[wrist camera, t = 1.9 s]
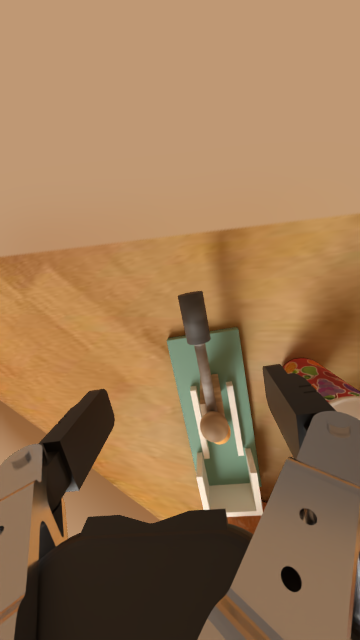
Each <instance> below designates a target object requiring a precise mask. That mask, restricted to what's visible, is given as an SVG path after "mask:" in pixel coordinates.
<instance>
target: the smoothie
mask: <svg viewBox="0 0 360 640" xmlns="http://www.w3.org/2000/svg"><path fill="white" fill-rule="evenodd" d="M283 368H284V370H285V371H286V372H287V373H288V374H290V373H296V374H298V375H300V376H302V377H304V378H305V379H306V380H307V381H308V382H309V383H310V384H311V386H313V387H314V388H315V389H316V390H317V392H319V393H320V394H321V395H322V396H323V397H324V399H325V400H326V401H327V402H328V403H329V404H330V405H331V406H332V407H333V408H334V409H335V410H336V411H337V412H342V413H345V414H348V415H351V416H353V417H355V418H357V419H358V420H360V391H358V390H357V389H355V388H354V387H352V386H351V385H349V384H348V383H346V382H345V381H343V380H342V379H340V378H339V377H337V376H336V375H334V374H333V373H331V372H330V371H329V370H327V369H326V368H324V367H323V366H321V365H320V364H318V363H317V362H315V361H313V360H311V359H306V358H298V359H293V360H291V361H289V362H287V363H286V364H285V365H284V367H283Z"/></svg>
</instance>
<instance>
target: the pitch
mask: <svg viewBox="0 0 360 640" xmlns="http://www.w3.org/2000/svg"><path fill="white" fill-rule="evenodd" d="M210 337H211V340H210V341H208V342H207V343H205V345H206V351H207V356H208V362H209V367H210V373H211V375H212V374H218V378H219V384H220V389H221V395H222V402H223V408H224V414H225V418H226V420H227V422H228V425H229V427H230V430H231V435H230V438H229V440H228V441H227V442H226V443H224V444H216V443H214V442H210V441H208V440H207V439H205V438H204V436H203V435H202V433H201V430H200V422H201V419H202V413H201V408H200V372H199V367H198V362H197V357H196V352H195V347H194V345H189V344H188V343H187V339H186V335H184V336H178V337H172V338H168V339H167V344H168V349H169V353H170V358H171V362H172V367H173V371H174V376H175V380H176V385H177V389H178V394H179V398H180V403H181V407H182V412H183V416H184V420H185V425H186V429H187V434H188V438H189V443H190V447H191V452H192V456H193V461H194V465H195V470H196V478H197V482H198V487H199V491H200V496H201V500H202V505H203V509H204V510H211V509H225V510H226V515H227V517H238V516H260V515H262V514H263V509H262V503H261V496H260V490H259V487H262V486H261V479H260V473H259V466H258V459H257V452H256V446H255V439H254V432H253V425H252V419H251V412H250V405H249V398H248V391H247V385H246V378H245V371H244V364H243V358H242V351H241V344H240V337H239V331H238V328H237V327H233V328H227V329H221V330H215V331H210Z"/></svg>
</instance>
